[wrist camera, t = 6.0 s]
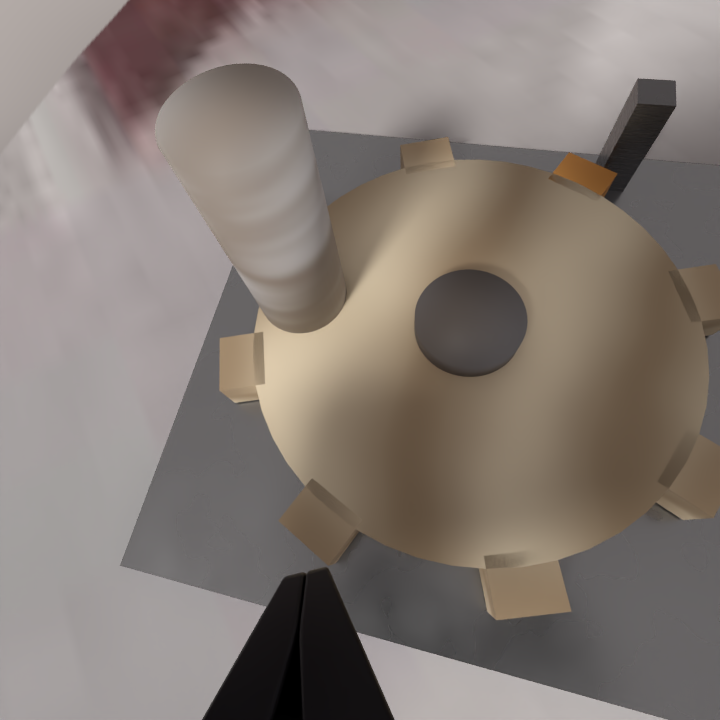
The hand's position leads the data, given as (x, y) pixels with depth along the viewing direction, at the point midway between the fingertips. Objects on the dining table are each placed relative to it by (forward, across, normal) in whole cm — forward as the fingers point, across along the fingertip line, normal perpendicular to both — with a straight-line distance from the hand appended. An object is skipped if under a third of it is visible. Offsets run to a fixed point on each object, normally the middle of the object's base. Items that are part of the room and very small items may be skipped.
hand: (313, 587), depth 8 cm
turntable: (+9, -6, 0) cm, 11 cm away
